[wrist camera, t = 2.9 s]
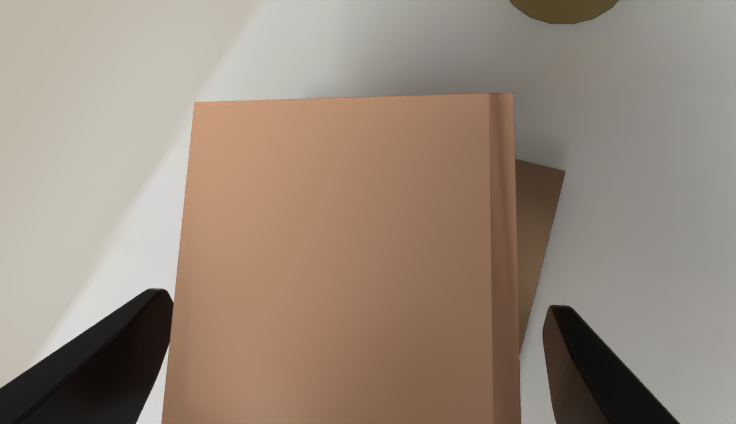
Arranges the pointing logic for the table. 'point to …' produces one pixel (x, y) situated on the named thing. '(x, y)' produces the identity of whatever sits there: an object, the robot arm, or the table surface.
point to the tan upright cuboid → (348, 263)
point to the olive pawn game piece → (563, 9)
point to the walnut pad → (533, 228)
